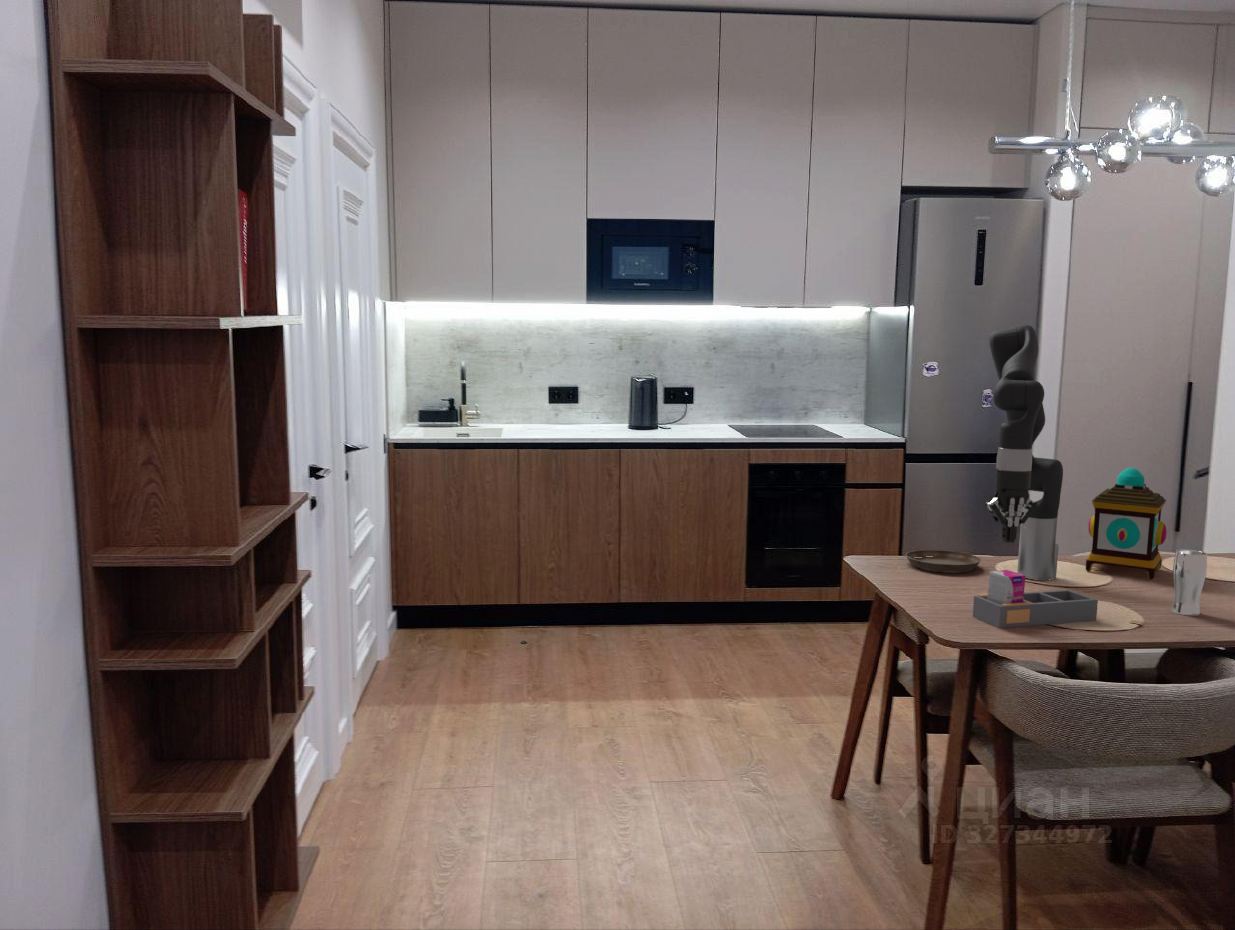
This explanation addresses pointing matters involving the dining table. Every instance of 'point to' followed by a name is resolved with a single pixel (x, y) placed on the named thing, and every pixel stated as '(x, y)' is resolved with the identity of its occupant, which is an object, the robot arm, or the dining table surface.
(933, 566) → the plant saucer
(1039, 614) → the rack
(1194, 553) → the beer glass
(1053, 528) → the robot arm
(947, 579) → the dining table surface
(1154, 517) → the decorative lantern
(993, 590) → the supplement box
